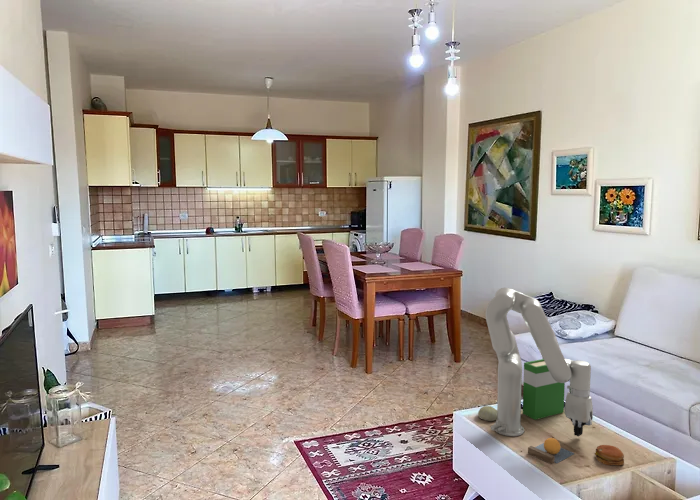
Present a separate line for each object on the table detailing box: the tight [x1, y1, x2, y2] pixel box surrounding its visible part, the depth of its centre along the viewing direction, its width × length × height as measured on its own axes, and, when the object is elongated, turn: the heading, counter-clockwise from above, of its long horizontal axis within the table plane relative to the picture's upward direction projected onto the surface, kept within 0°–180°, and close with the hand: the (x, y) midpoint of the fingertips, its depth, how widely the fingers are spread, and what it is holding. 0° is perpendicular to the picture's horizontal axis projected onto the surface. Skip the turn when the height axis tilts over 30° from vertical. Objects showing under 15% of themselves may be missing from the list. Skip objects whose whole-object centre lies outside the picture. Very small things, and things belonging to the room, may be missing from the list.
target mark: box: [534, 442, 575, 464], centre depth 199 cm, size 12×12×1 cm
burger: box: [594, 444, 625, 467], centre depth 193 cm, size 10×9×5 cm
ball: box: [543, 437, 561, 454], centre depth 197 cm, size 6×6×6 cm
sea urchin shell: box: [477, 405, 497, 422], centre depth 230 cm, size 9×8×8 cm
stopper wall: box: [527, 445, 555, 465], centre depth 194 cm, size 2×10×2 cm, turn 36°
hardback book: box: [522, 358, 566, 421], centre depth 234 cm, size 18×7×24 cm, turn 115°
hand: (578, 434), depth 210 cm, fingers closed
